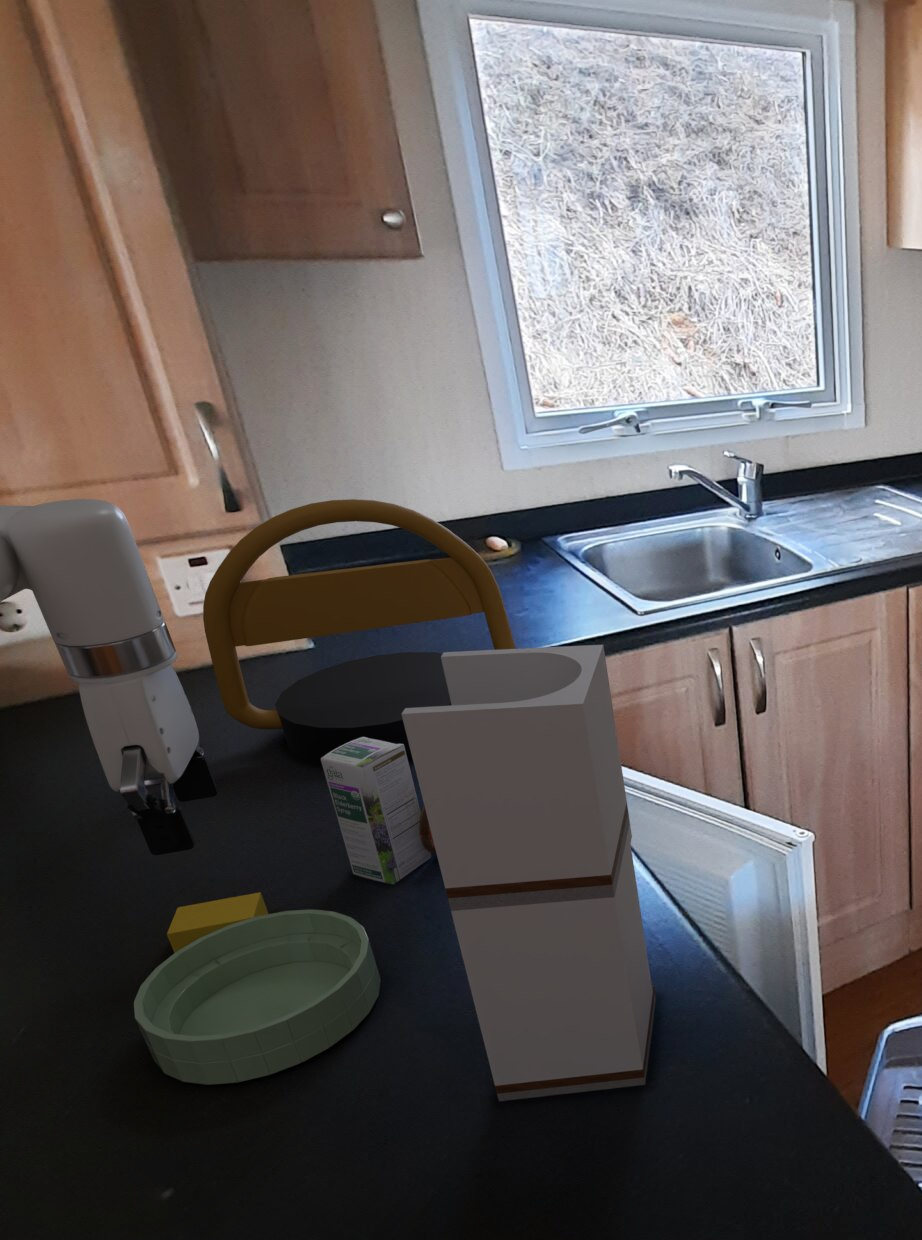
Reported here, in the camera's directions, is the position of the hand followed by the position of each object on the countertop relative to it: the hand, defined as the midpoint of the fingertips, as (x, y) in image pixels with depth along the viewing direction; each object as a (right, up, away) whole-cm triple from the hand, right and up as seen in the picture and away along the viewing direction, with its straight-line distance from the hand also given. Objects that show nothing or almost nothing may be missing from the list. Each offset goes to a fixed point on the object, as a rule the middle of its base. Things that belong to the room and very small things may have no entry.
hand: (187, 823), depth 96 cm
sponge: (-1, -12, +6) cm, 14 cm away
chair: (-7, +9, +48) cm, 49 cm away
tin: (+16, -3, +24) cm, 29 cm away
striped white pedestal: (+38, -19, -6) cm, 43 cm away
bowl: (+10, -17, -3) cm, 20 cm away
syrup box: (+9, -6, +18) cm, 21 cm away
